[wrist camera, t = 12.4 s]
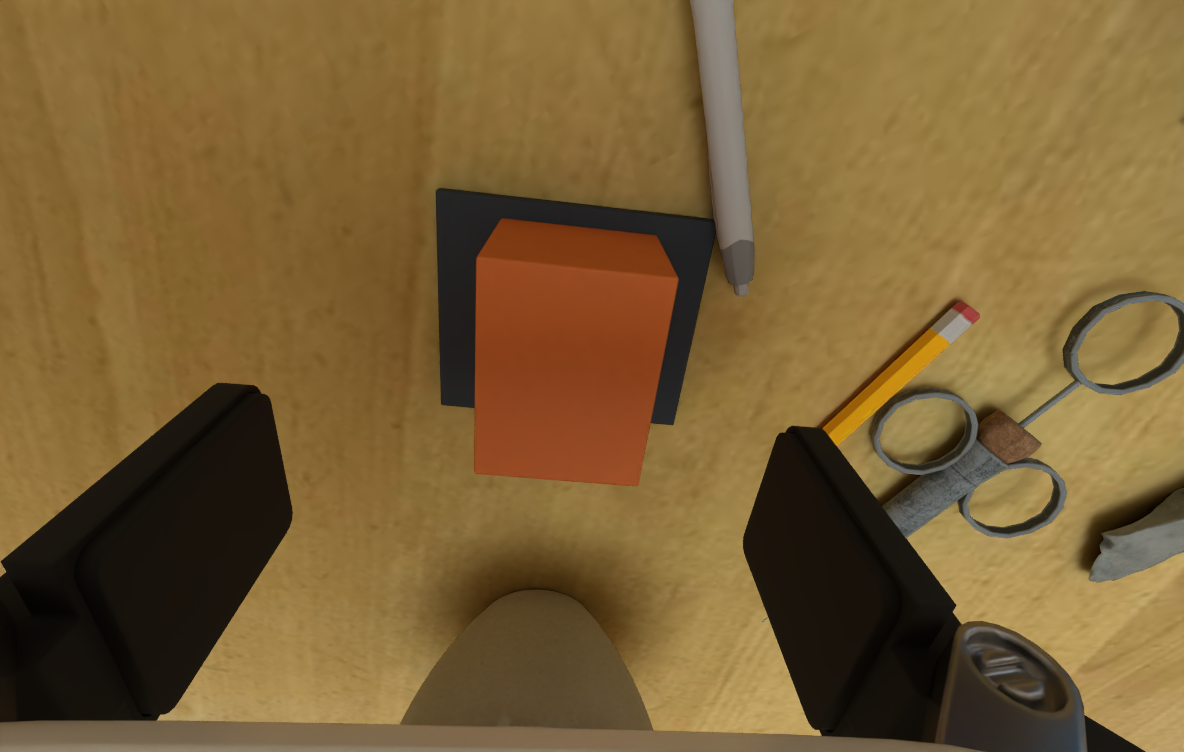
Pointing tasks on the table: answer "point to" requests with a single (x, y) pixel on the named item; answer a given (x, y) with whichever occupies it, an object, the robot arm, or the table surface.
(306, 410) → the table surface
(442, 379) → the mat
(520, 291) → the snack box
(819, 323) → the table surface
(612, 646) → the flower pot
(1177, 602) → the table surface
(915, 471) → the syringe
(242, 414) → the robot arm
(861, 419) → the pencil
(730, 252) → the pen
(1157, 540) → the stone tool
